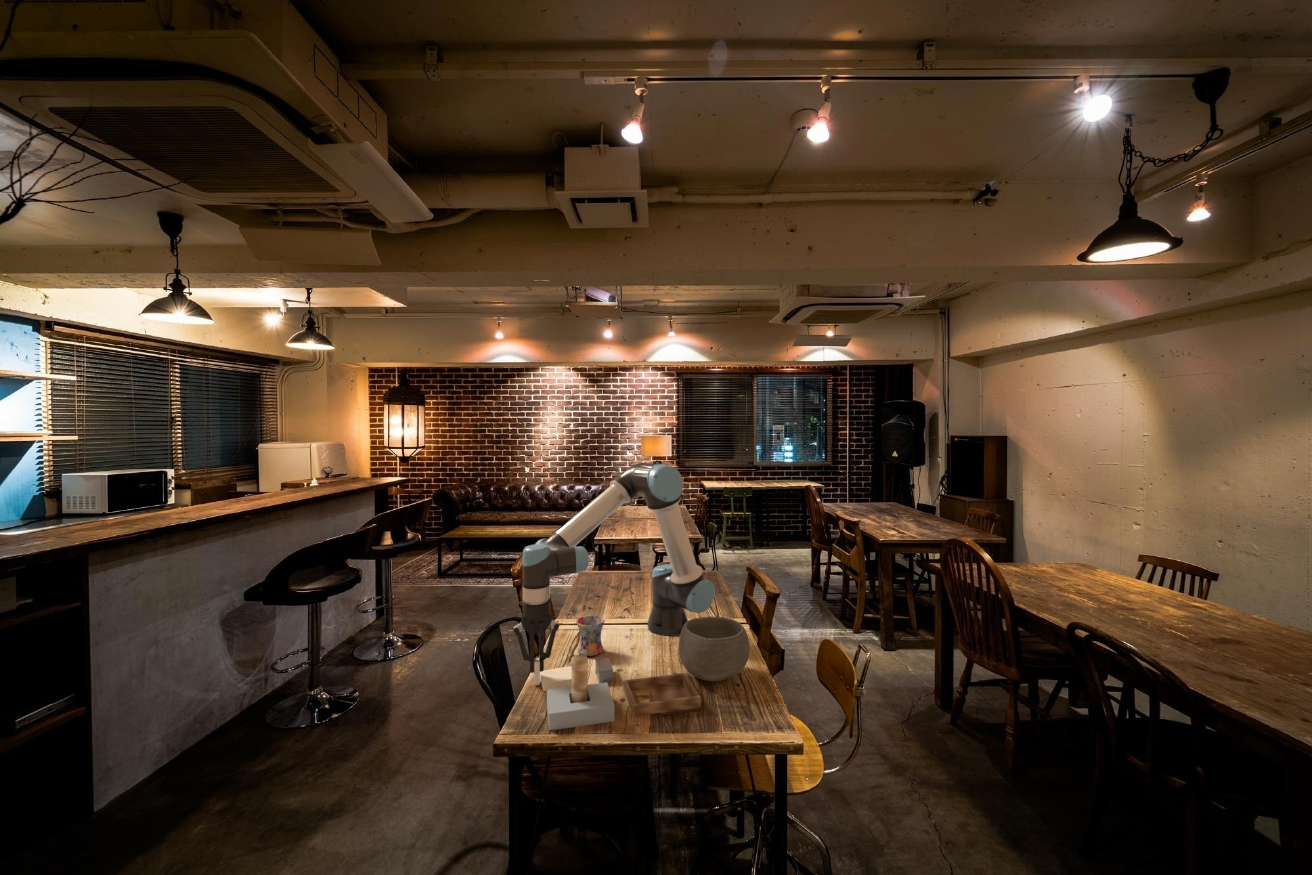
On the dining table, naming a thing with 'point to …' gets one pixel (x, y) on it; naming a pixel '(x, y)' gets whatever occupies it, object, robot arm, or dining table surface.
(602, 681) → the block
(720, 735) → the dining table surface
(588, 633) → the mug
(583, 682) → the dowel
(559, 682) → the cream rectangular block
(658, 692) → the tray
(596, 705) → the dowel block
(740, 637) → the bowl
